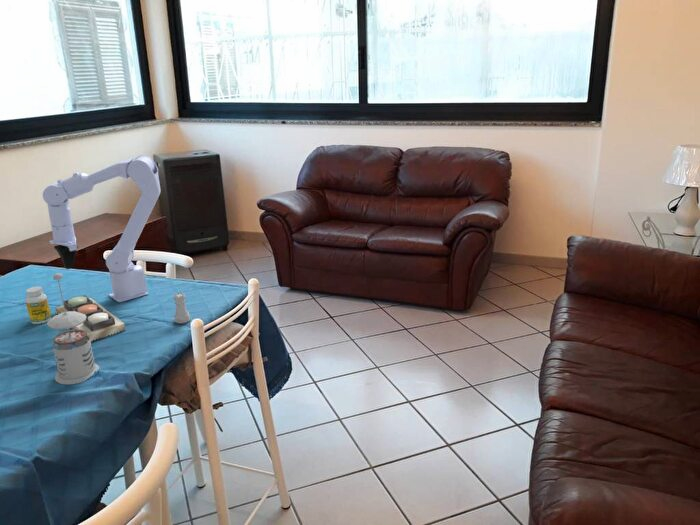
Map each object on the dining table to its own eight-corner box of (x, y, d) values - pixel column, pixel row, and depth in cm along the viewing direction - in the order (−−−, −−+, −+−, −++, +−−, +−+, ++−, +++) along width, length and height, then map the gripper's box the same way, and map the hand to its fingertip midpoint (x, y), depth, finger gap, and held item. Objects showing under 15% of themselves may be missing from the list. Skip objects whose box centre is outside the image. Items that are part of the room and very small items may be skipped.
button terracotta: (94, 309, 164) (93, 302, 163) (100, 314, 160) (99, 307, 160) (76, 314, 161) (74, 308, 160) (82, 320, 157) (81, 313, 156)
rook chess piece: (194, 318, 162) (191, 292, 159) (183, 325, 158) (180, 298, 155) (181, 316, 164) (178, 290, 161) (170, 322, 160) (167, 296, 157)
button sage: (84, 301, 169) (83, 295, 169) (90, 306, 166) (89, 299, 165) (66, 306, 166) (65, 299, 166) (72, 311, 163) (71, 304, 162)
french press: (53, 388, 129) (30, 284, 120) (55, 364, 139) (34, 267, 130) (100, 378, 132) (81, 277, 124) (99, 356, 142) (81, 260, 134)
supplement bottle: (50, 314, 166) (43, 284, 163) (53, 321, 162) (46, 289, 159) (29, 319, 164) (22, 288, 160) (31, 326, 159) (24, 294, 156)
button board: (91, 303, 173) (89, 292, 172) (125, 330, 156) (123, 317, 154) (56, 313, 167) (54, 301, 165) (87, 342, 149) (85, 329, 148)
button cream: (105, 317, 158) (103, 311, 158) (112, 323, 155) (110, 316, 154) (86, 323, 155) (85, 316, 154) (93, 329, 152) (91, 322, 151)
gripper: (39, 222, 171) (47, 265, 175) (55, 232, 161) (63, 277, 165) (64, 217, 175) (72, 259, 180) (81, 227, 165) (88, 271, 170)
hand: (69, 268), depth 173 cm, fingers closed
